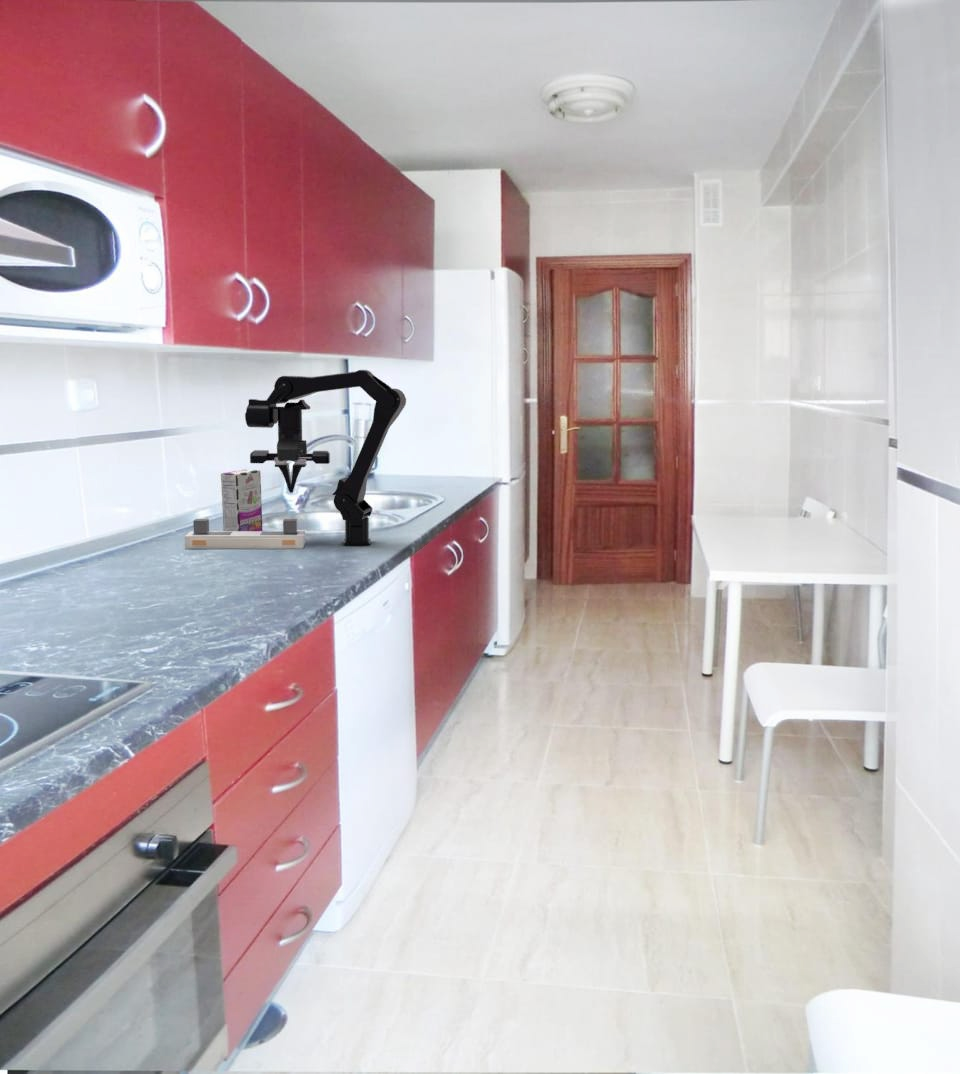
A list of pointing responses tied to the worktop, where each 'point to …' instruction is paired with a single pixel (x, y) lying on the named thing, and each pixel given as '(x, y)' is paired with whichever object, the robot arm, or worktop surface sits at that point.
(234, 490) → the candy bar box
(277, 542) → the switch bank
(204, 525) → the outer tab
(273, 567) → the worktop surface
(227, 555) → the worktop surface
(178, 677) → the worktop surface
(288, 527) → the inner tab
